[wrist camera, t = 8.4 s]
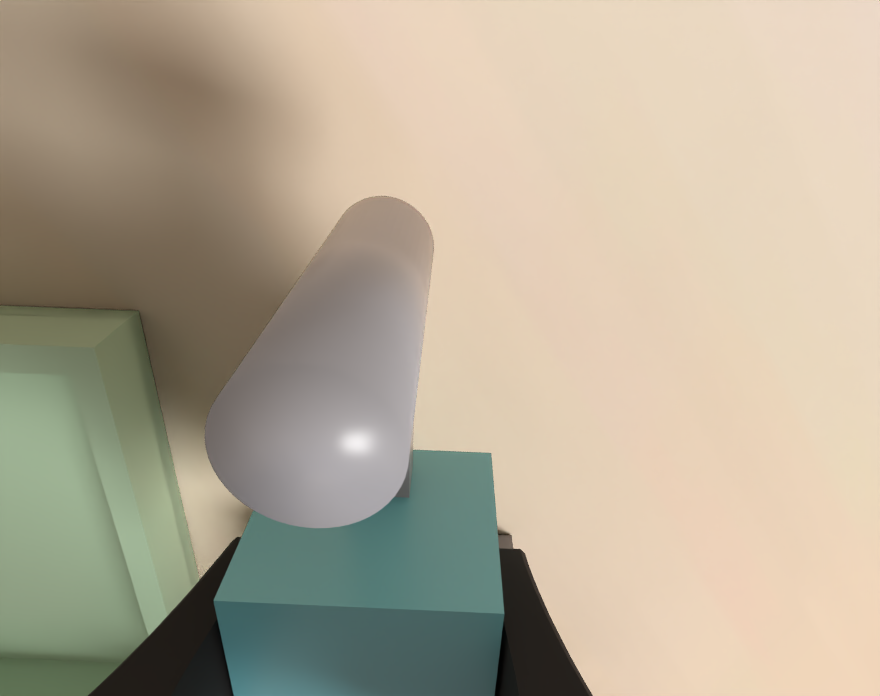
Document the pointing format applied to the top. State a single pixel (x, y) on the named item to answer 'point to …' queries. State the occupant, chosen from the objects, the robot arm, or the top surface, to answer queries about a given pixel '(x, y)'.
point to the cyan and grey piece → (353, 489)
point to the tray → (82, 500)
